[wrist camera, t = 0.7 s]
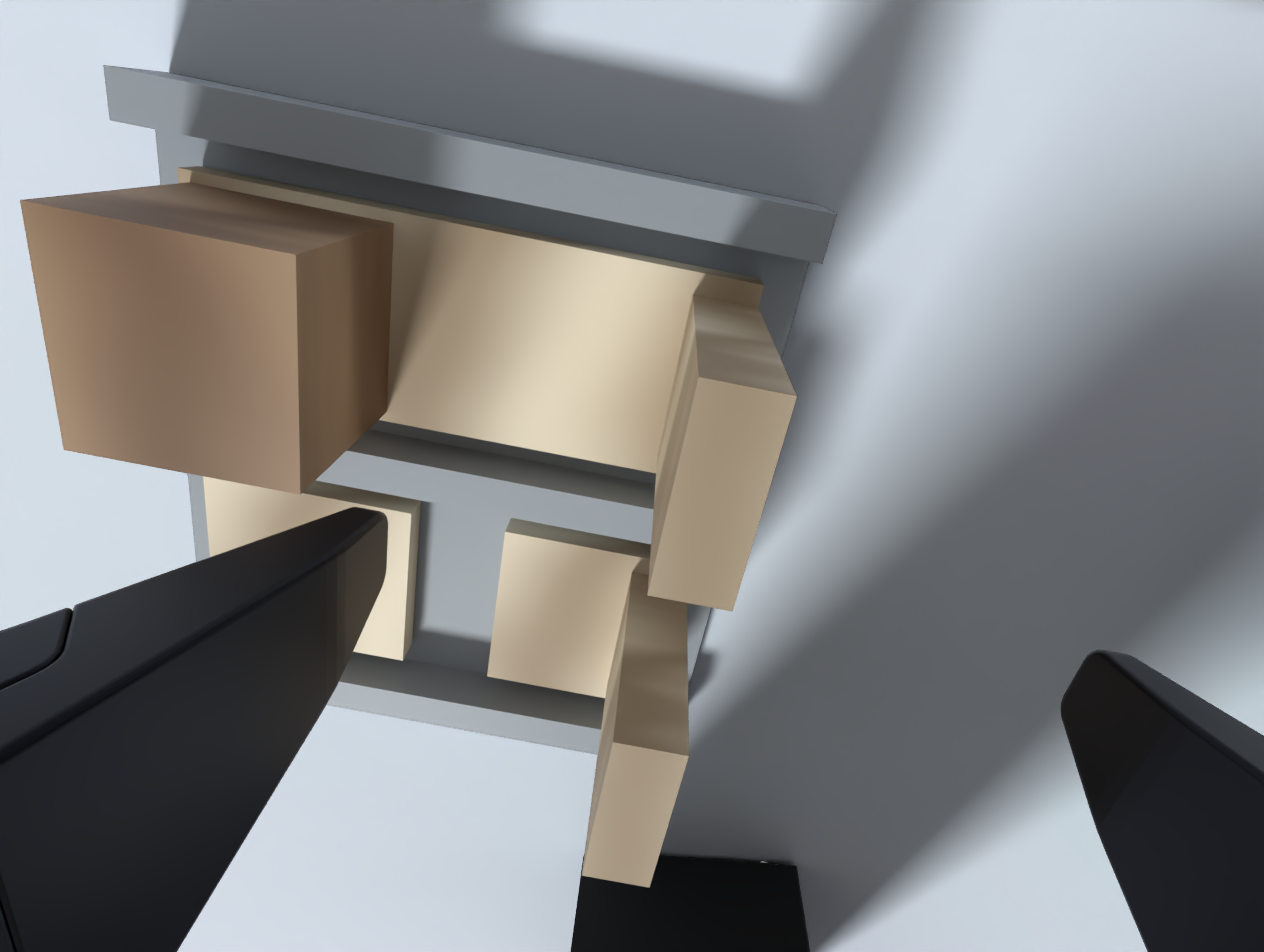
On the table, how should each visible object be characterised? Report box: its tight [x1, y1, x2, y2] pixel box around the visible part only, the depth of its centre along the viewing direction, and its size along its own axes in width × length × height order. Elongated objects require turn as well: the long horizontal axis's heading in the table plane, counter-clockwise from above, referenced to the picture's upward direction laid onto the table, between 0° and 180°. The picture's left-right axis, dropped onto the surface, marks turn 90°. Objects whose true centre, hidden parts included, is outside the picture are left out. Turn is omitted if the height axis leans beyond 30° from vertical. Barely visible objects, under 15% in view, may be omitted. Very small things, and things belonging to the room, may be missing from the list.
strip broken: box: [203, 476, 689, 887], centre depth 18 cm, size 13×5×7 cm, turn 80°
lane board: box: [103, 65, 837, 755], centre depth 19 cm, size 15×16×2 cm
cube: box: [20, 182, 394, 495], centre depth 15 cm, size 4×4×4 cm
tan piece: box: [177, 166, 797, 611], centre depth 15 cm, size 13×5×7 cm, turn 80°
